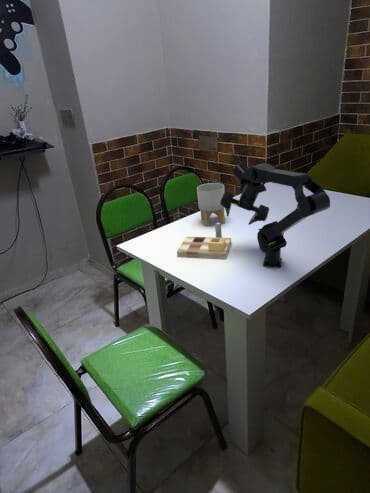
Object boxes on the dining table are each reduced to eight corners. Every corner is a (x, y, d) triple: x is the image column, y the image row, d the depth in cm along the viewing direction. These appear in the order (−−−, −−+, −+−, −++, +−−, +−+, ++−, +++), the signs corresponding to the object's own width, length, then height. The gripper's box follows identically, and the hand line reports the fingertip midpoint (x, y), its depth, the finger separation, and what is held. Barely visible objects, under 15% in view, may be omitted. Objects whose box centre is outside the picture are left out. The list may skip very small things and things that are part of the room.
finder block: (223, 251, 136) (223, 242, 134) (208, 250, 138) (208, 242, 136) (225, 245, 140) (225, 237, 138) (211, 245, 142) (210, 236, 140)
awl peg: (221, 241, 150) (220, 224, 147) (215, 240, 151) (214, 224, 147) (222, 238, 152) (221, 221, 149) (216, 238, 153) (215, 221, 150)
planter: (230, 218, 171) (229, 184, 163) (217, 228, 162) (214, 192, 155) (209, 215, 179) (206, 181, 171) (194, 224, 170) (191, 189, 162)
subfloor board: (225, 259, 135) (225, 253, 134) (177, 256, 141) (176, 251, 140) (231, 243, 147) (231, 237, 146) (186, 241, 153) (186, 236, 152)
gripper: (278, 188, 132) (263, 215, 144) (232, 171, 133) (222, 199, 146) (272, 207, 125) (258, 233, 138) (225, 188, 127) (214, 216, 139)
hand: (238, 219), depth 140 cm, fingers open, 9 cm apart
